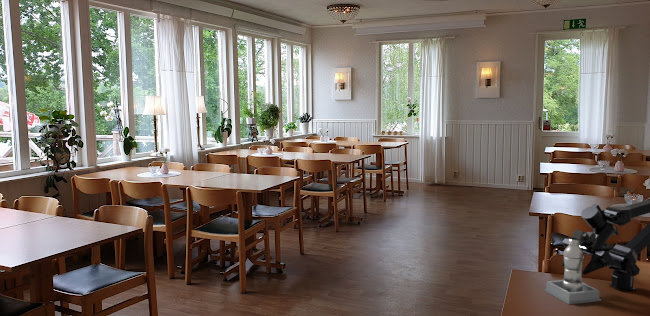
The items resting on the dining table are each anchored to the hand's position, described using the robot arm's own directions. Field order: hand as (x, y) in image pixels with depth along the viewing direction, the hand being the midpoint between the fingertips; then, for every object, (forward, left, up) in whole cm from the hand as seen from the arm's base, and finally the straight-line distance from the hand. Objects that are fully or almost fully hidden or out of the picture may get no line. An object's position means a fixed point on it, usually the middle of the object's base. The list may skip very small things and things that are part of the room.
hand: (572, 269), depth 176 cm
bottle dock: (0, 0, -9) cm, 9 cm away
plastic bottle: (0, 0, -9) cm, 9 cm away
